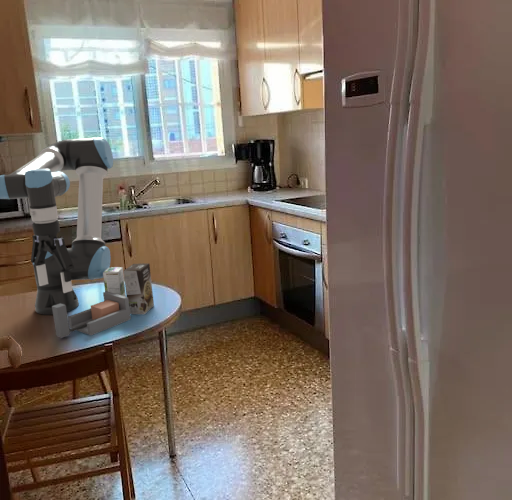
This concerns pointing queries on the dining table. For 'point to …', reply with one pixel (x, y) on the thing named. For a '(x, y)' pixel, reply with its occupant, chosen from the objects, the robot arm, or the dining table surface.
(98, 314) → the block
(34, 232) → the robot arm
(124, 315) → the tray
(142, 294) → the coffee box
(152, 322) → the dining table surface
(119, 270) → the syrup box
